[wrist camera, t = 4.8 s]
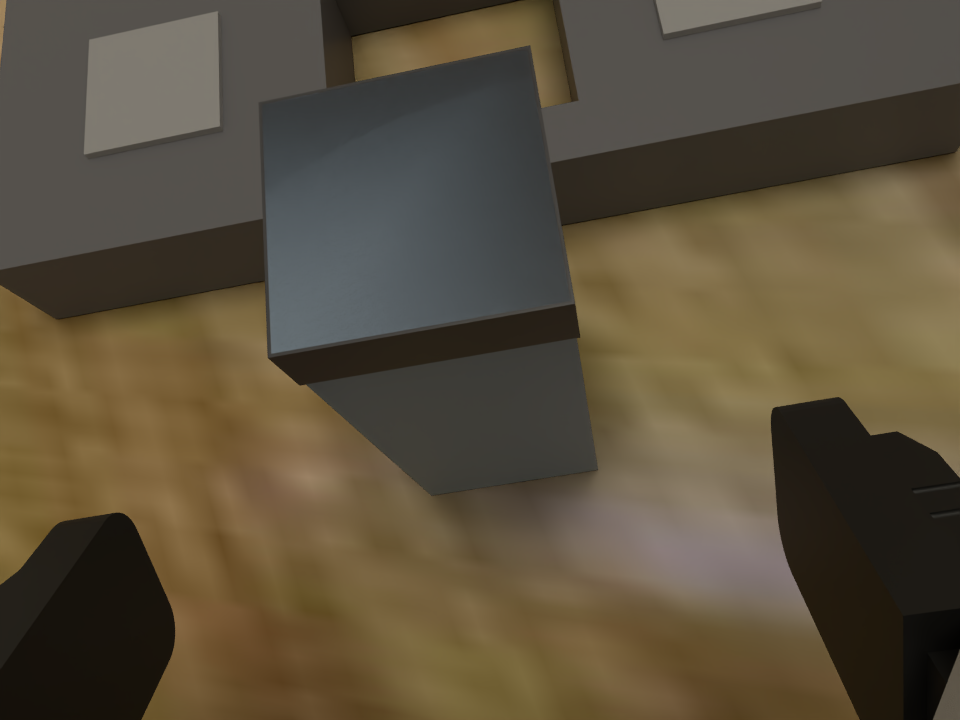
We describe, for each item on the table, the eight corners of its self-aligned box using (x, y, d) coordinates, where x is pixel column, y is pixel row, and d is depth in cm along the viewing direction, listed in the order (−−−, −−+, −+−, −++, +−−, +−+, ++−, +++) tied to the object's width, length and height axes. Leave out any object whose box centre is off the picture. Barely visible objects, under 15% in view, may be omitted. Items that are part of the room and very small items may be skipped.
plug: (572, 312, 22) (530, 45, 13) (600, 471, 20) (575, 304, 11) (413, 339, 22) (258, 102, 13) (429, 497, 21) (267, 357, 12)
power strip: (857, -117, 25) (891, -236, 22) (955, 151, 22) (1013, 59, 18) (-49, 84, 28) (-139, 5, 25) (-79, 344, 25) (-187, 294, 21)
